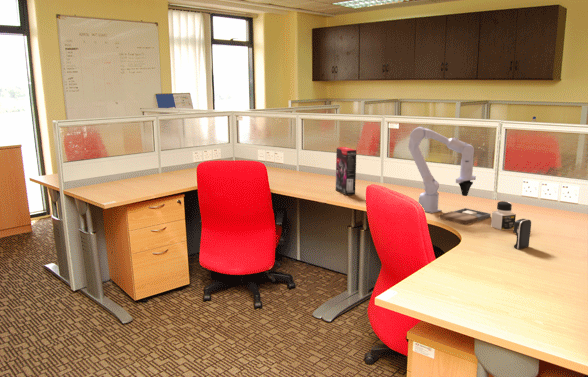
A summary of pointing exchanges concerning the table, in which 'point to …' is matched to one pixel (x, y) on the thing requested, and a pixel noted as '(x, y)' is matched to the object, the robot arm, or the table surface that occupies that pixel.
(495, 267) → the table surface
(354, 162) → the graphics card box
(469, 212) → the tile
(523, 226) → the battery charger
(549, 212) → the table surface
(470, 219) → the board
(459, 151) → the robot arm
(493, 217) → the medicine bottle
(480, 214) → the tray
